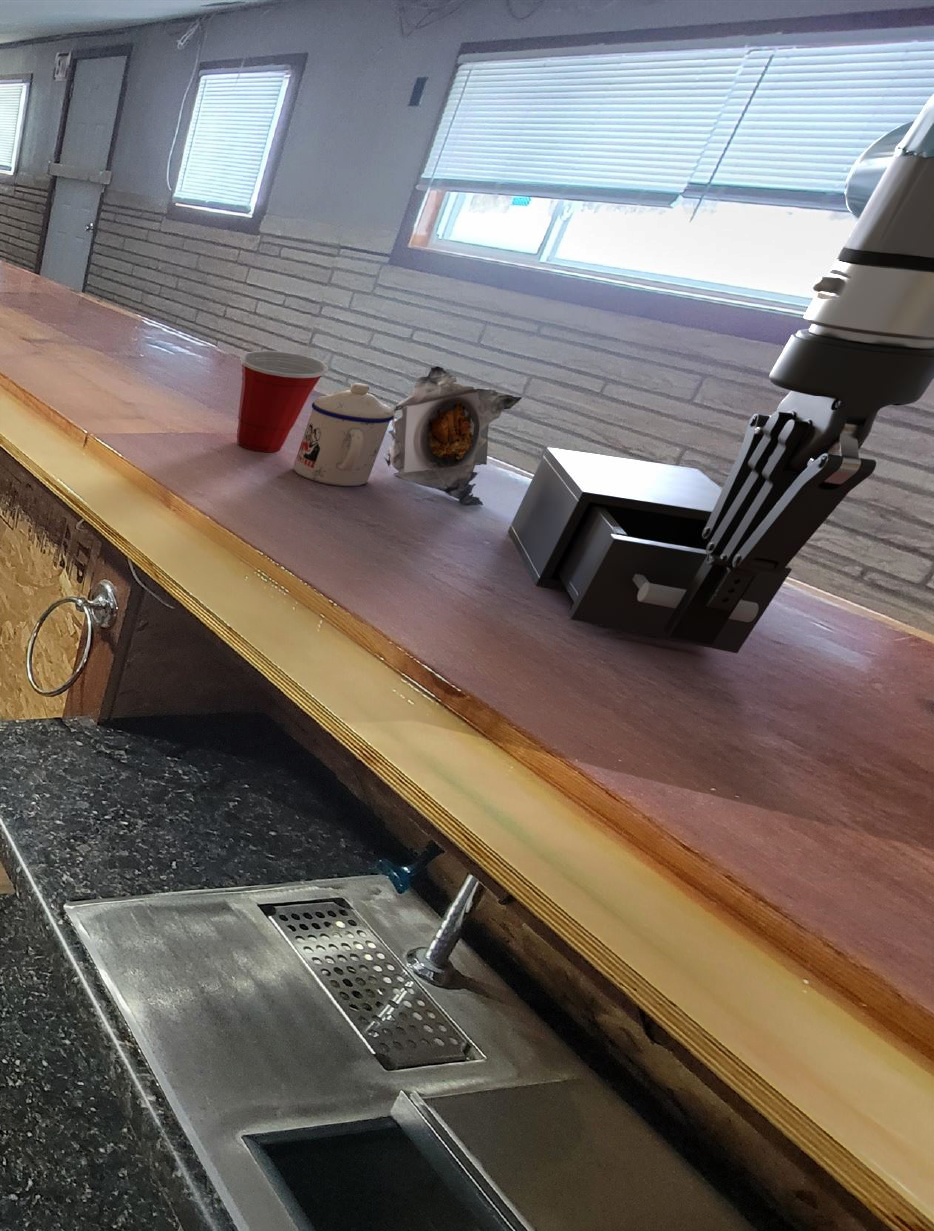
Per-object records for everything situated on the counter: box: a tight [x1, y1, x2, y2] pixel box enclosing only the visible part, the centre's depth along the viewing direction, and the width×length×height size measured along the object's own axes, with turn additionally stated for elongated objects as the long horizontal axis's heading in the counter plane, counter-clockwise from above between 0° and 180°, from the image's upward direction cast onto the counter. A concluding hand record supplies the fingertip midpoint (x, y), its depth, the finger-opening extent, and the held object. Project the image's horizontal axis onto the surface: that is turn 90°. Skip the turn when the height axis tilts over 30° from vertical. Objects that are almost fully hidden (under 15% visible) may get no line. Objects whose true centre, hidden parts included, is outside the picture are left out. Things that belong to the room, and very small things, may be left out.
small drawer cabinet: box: [507, 446, 723, 592], centre depth 90 cm, size 16×13×10 cm
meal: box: [383, 365, 523, 506], centre depth 111 cm, size 15×4×13 cm, turn 8°
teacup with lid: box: [293, 382, 395, 487], centre depth 111 cm, size 12×9×12 cm
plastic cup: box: [236, 350, 329, 453], centre depth 122 cm, size 11×11×12 cm
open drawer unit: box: [555, 502, 793, 654], centre depth 80 cm, size 19×12×8 cm, turn 154°
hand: (687, 636), depth 72 cm, fingers closed
